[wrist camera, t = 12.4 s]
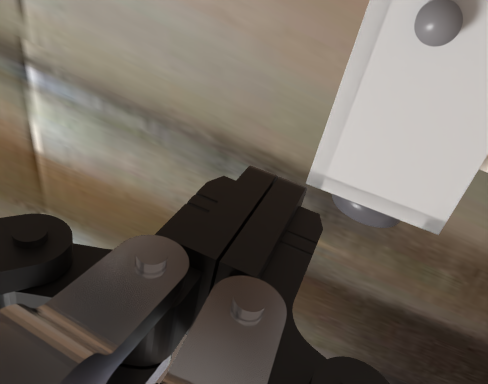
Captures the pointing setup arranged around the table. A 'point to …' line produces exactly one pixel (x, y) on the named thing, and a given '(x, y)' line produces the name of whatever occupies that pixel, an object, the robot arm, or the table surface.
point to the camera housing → (408, 114)
